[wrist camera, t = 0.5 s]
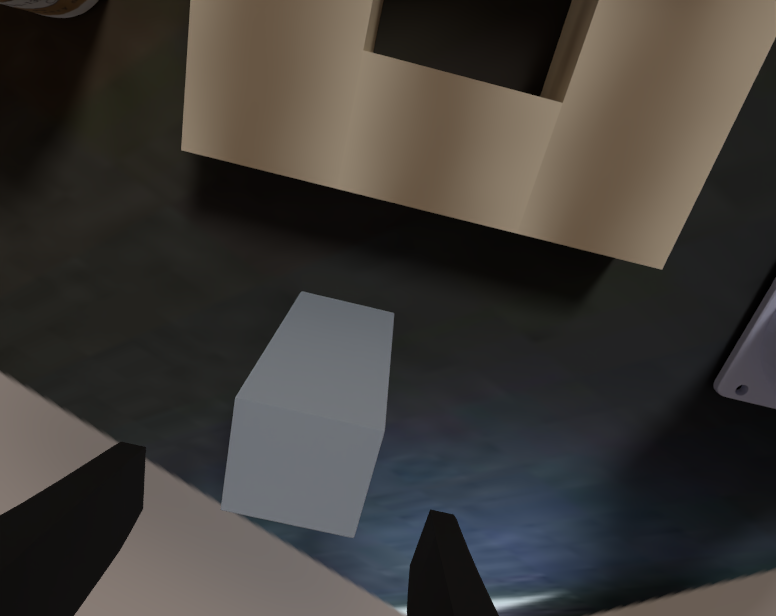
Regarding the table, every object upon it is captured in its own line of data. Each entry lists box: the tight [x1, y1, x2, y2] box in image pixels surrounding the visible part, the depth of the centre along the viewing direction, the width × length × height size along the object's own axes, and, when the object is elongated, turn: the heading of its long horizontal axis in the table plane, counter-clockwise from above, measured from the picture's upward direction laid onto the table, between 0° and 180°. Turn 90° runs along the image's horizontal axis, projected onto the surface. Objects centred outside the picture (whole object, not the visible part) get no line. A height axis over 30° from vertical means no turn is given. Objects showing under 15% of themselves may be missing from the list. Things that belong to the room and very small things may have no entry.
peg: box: [221, 291, 394, 538], centre depth 17 cm, size 4×4×8 cm
